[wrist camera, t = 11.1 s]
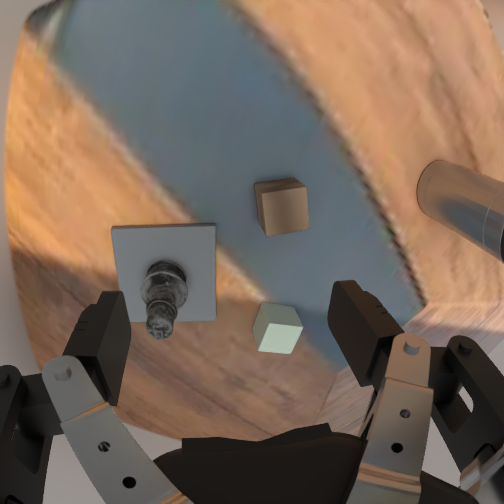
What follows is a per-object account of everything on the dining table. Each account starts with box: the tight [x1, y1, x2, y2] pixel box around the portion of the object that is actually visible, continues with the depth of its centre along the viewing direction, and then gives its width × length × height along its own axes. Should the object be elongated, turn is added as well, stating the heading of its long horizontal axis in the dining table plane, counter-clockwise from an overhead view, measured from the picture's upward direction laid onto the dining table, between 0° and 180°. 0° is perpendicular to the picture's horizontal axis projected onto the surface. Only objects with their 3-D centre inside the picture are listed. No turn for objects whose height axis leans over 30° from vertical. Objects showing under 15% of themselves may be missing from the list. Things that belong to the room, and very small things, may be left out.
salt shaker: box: [140, 260, 188, 340], centre depth 34 cm, size 6×6×12 cm
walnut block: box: [254, 178, 309, 237], centre depth 36 cm, size 5×5×5 cm
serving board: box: [111, 223, 216, 322], centre depth 40 cm, size 13×14×1 cm
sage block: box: [252, 302, 303, 354], centre depth 44 cm, size 5×5×5 cm
